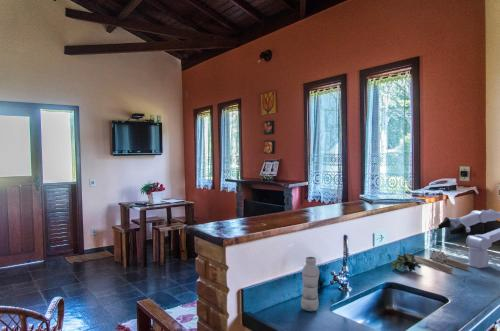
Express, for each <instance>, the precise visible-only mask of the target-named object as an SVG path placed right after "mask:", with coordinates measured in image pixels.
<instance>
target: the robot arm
mask: <svg viewBox="0 0 500 331" xmlns="http://www.w3.org/2000/svg"><path fill="white" fill-rule="evenodd" d="M498 219H500V211H495V210H494V209H491V208H489V209H488V210H485V209H481V210H477V209H475V210H474V209H473V210H472V211H470V213H468V214H467V215H464V216H461V217H458V216H456V218H452V217H451V218H450V217H447V216H446V217H445V218H444V219H443V220H442V222H441V223H439V224H438V229H444V228H451V226H453V227H454V228H451V229H450V230H449V234H450V235H463V236H464V235H466V233H470V232H471V226H474V225H476V224H478V223H484V224H486V223H487V222H494V221H495V222H496V221H497V220H498ZM498 241H500V227H499V228H497V229H494V230H491V231H488V232H486V233H483V234H474V235H473V234H470V235H468V236H467V237H466V239H465V244H466V245H467V247H468V262H465V263H466V264H468V267H473V268H477V269H484V268H488V267H489V268H490V266H491V265H490V264H489V263H490V262H489V260H490V256H489V255H490V254H489V252H488V249H489V248H490V247H492V245H493V243H494V242H498Z"/></svg>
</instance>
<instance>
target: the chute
mask: <svg viewBox="0 0 500 331" xmlns="http://www.w3.org/2000/svg"><path fill="white" fill-rule="evenodd" d="M432 253H433V252H430V253H429V258H431V257H432ZM413 256H414V258H415V259H416V262H418V264H422V265H425V266H427V267H431V268H433V269H436V270H439V271H443V272H445V273H448V274H452V273H453V267H455V268H459V269H461V270H464V271H468V270H469V265H468V264H466V263H467V262H462V261H458V260H456V259H452V258H450V257H447V258H446V262H445V263H444V264H445V265H444V264H441V263H437V262H434V261H433V260H432V259H429V258H428V259H427V258H425V257H422V256H419V255H413ZM414 258H413V259H414ZM448 264H449V265H450V266H449V265H448Z"/></svg>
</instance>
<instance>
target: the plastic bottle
mask: <svg viewBox="0 0 500 331" xmlns="http://www.w3.org/2000/svg"><path fill="white" fill-rule="evenodd" d="M316 260H317V258H316V257H314V256H307V257H305V265H304V266H303V268H302V270H301V275H302V296H301V300H300V305H301V308H302V310H303V311H305V312H316V311H317V310H318V308H319V303H320V302H319V294H318V284H319V277H320V270H319V267H318V266H317V265H316V263H317V261H316Z"/></svg>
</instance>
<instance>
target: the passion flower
mask: <svg viewBox="0 0 500 331" xmlns="http://www.w3.org/2000/svg"><path fill="white" fill-rule="evenodd" d="M396 255H397V257H396V258H397V259H396V260H395V261H394V260H393V261H391V263H390V265H391V268H393V269H397V267H398V271H400V269H401V267H402V272H401V274H403V273H404V271H406V270H409V271H416V267H417V268H419V269H421V268H422V267H421V265H419V263H418V262H416V259H415V258H414V256H415V255H413V254H411V253H407V252H406V253H403V254H399V253H397V254H396Z"/></svg>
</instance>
